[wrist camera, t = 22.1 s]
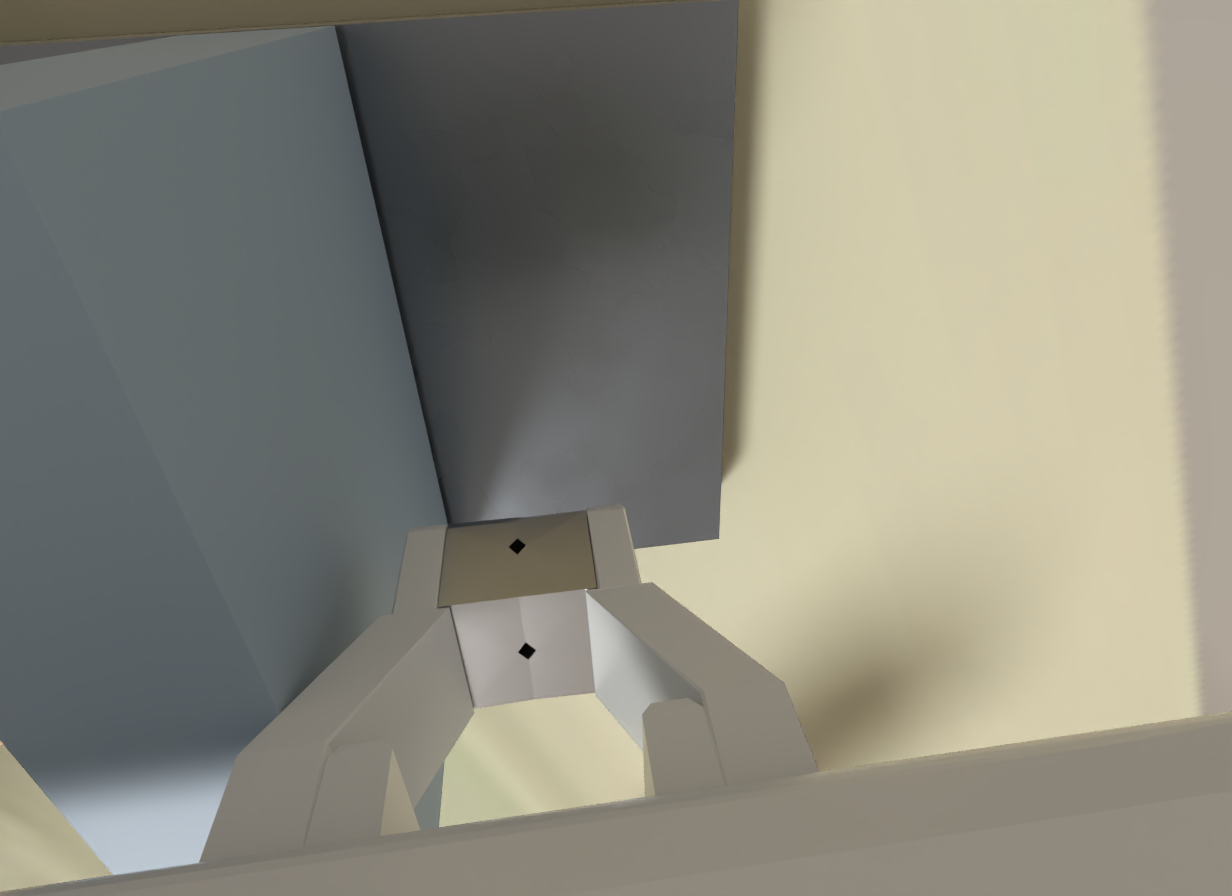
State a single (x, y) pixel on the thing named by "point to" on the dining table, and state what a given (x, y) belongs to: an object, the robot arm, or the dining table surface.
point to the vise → (552, 246)
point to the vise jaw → (190, 419)
